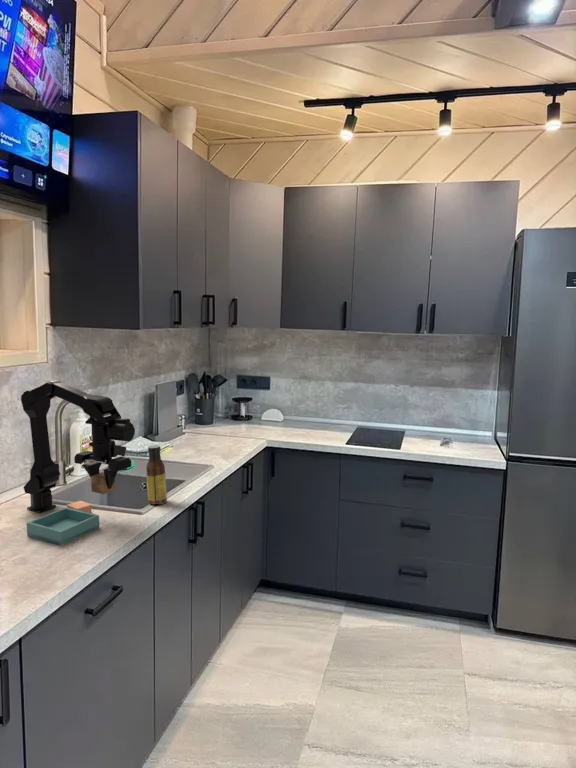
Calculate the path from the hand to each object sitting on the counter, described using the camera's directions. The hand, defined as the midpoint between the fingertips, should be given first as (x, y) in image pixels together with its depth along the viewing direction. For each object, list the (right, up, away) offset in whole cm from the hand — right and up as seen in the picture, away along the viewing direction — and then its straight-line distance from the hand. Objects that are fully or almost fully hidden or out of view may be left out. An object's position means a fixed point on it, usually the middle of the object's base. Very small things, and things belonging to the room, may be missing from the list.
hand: (103, 487), depth 168 cm
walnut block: (0, -1, 0) cm, 1 cm away
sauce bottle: (+13, -9, +16) cm, 22 cm away
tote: (-9, -12, -9) cm, 17 cm away
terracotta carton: (-10, -10, +6) cm, 15 cm away
